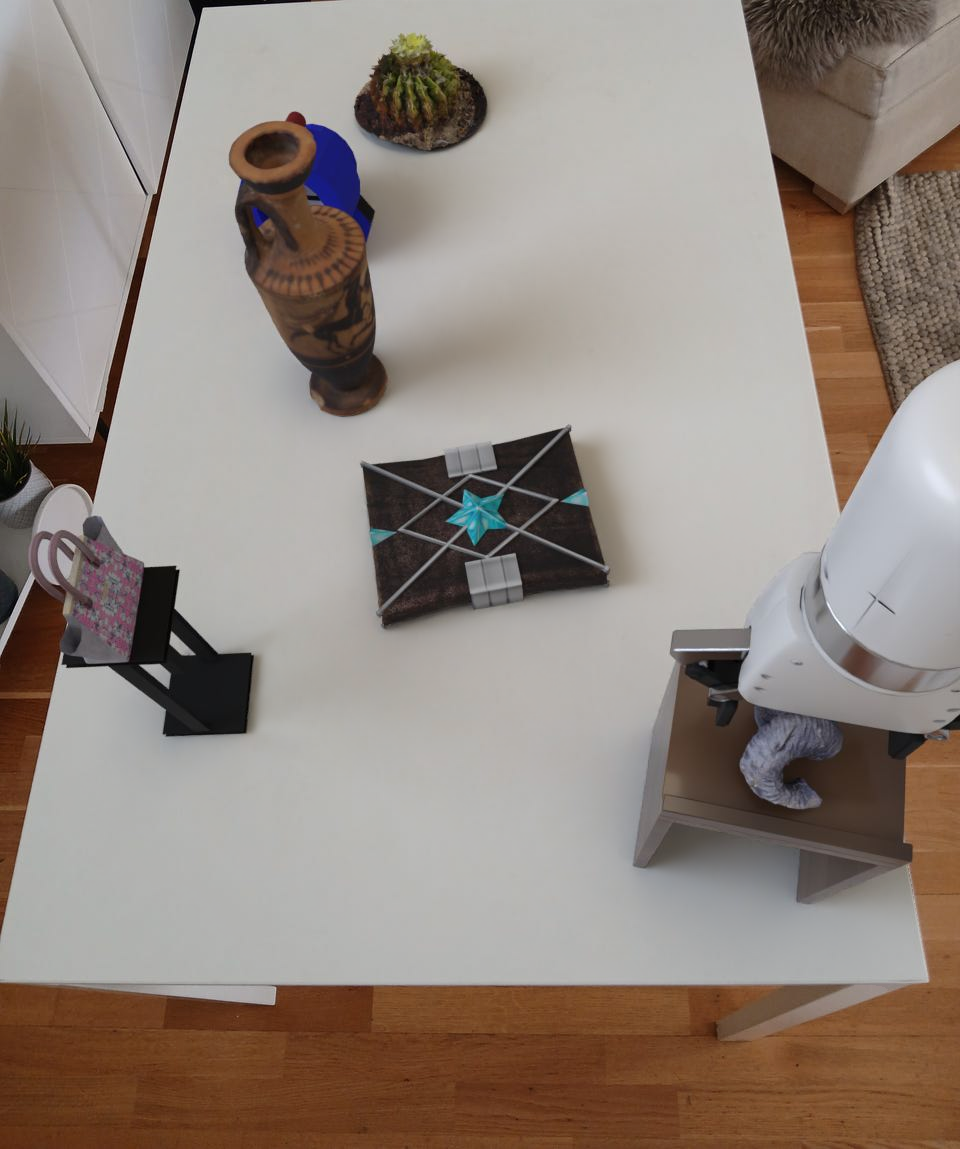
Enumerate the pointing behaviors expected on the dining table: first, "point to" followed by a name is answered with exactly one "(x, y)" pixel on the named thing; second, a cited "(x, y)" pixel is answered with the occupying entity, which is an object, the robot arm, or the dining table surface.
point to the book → (480, 526)
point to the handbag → (142, 633)
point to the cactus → (420, 97)
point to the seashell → (787, 754)
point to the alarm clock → (331, 177)
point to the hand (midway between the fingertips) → (807, 717)
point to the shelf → (727, 803)
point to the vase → (308, 267)
